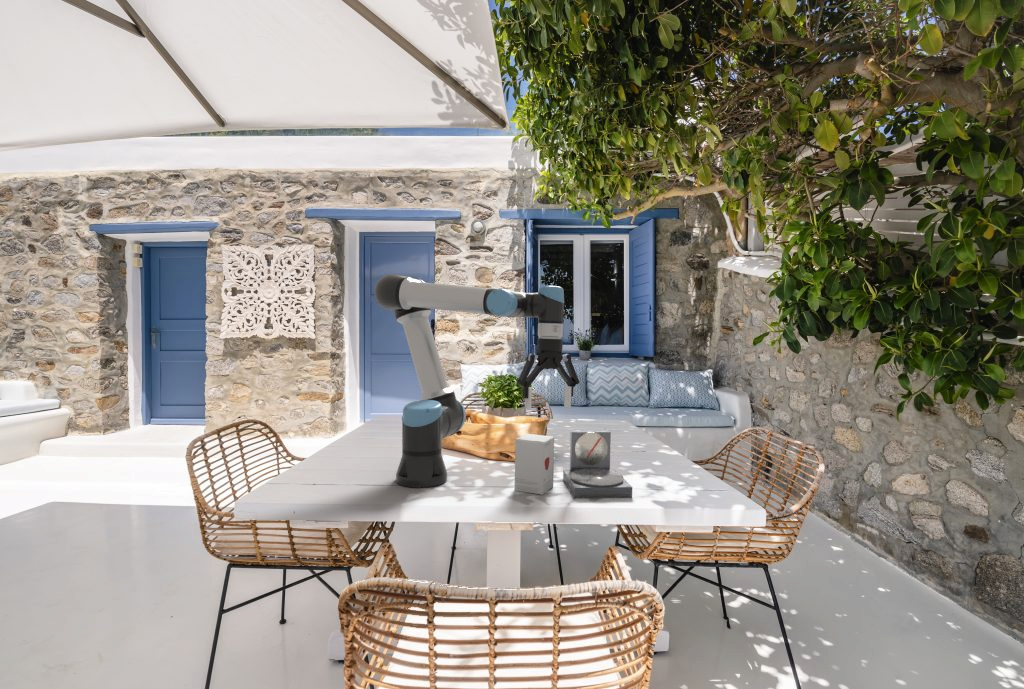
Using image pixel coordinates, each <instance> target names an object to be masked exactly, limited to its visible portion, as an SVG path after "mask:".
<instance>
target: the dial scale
mask: <svg viewBox="0 0 1024 689" xmlns="http://www.w3.org/2000/svg"><path fill="white" fill-rule="evenodd" d="M611 434H612V433H611V431H610V430H570V437H569V438H570V440H569V441H570V442H569V443H570V444H569V445H570V446H569V469H563V471H562V474H563V475H562V476H563V477H562V479H563V480H562V481H563V482H564V483H565V485H566V487H567V489H568V490H569V492H570V493H571V495H572V496H573V498H574V499H579V500H580V499H632V498H633V486H632V485H631V484H630V483H629V482H628V481H627V480H626V479H625V477H624V475H622V474H621V473H619V472H618V471H617V470H616V469H611Z"/></svg>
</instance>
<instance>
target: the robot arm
mask: <svg viewBox="0 0 1024 689" xmlns="http://www.w3.org/2000/svg"><path fill="white" fill-rule="evenodd" d="M374 297H375V301H376V302H377V303H378V305H379V306H380V307H381V308H383V309H384V310H387V311H390V312H393V313H394V316H395V319H396V323H400V324H401V326H402V327H403V331H404V335H405V337H406V341H407V344H408V349H409V352H410V355H411V360H412V362H413V366H414V369H415V373H416V377H417V380H418V384H419V388H420V391H421V397H420V400H418V401H411V402H409V403H407V404H405V405H404V406H403V408H402V416H401V421H402V425H401V426H402V429H401V432H402V433H401V434H402V439H401V440H402V441H401V442H402V444H401V445H402V446H401V447H402V452H401V453H402V454H401V458H400V461H399V465H398V467H397V470H396V474H395V482H396V484H398V485H400V486H402V487H407V488H418V489H419V488H431V487H436V486H439V485H442V484H445V483H446V482H448V470H447V468H446V465H445V462H444V459H443V455H442V454H443V453H442V444H443V442H442V440H443V439H446V438H447V437H451V436H453V435H455V434H456V433H457V432H459V431H461V429H462V428H463V426H464V425H465V423H466V419H467V417H466V416H467V412H466V408H465V406H464V405H463V403H462V402H461V401H459V400H458V399H457V397H456V393H455V391H454V390H453V389H451V388H449V386H448V382H447V380H446V376H445V372H444V369H443V365H442V361H441V358H440V355H439V351H438V348H437V344H436V341H435V338H434V333H433V329H432V326H431V322H430V320H429V317H430V316H431V314H432V310H438V311H439V310H441V311H449V312H461V313H469V314H479V315H489V316H496V317H500V318H501V317H502V318H503V317H504V318H505V317H506V318H537V323H538V324H537V336H538V337H539V338H537V346H536V347H537V348H536V350H537V354H534V353H528V354H527V356H526V362H525V364H524V367H523V369H522V370H521V373H520V375H519V377H518V379H517V381H516V384H517V386H520V387H522V399H524V410H526V411H531V410H532V394H533V393H532V391H533V388H532V387H531V385H532V384H533V382H534V381H535V380H536V379H537V377H538V376H539V375H540V374H541V372H543V370H556V371H557V372H558V374H559V376H561V378H562V379H563V381H564V382H565V383H566V385H564V393H563V394H564V396H563V398H564V399H563V400H564V401H563V404H564V405H563V407H564V408H566V409H571V408H572V397H573V396H574V387H576V385H579V384H580V380H579V377H578V375H577V372H576V369H575V367H574V364H573V361H572V355H571V354H569V353H564V354H563V353H562V352H563V344H564V343H563V342H564V341H563V339H562V338H563V336H564V335H563V334H564V312H565V293H564V288H563V287H561V286H557V285H541V286H539V288H538V291H537V292H519V291H515V290H509V289H508V288H489V287H479V286H470V285H469V286H466V285H455V284H444V283H435V282H433V283H432V282H426V281H424V280H422V279H420V278H418V277H416V276H407V275H401V274H396V273H390V274H389V273H388V274H386V275H384V276H382V277H381V278H380V279H378V281H376V284H375V287H374ZM536 361H537V363H536V364H535V365H534V363H535V362H536ZM562 361H563V362H564V365H565V368H566V369H565V368H564V366H563V364H562V363H561V362H562ZM533 366H534V368H533ZM532 368H533V369H532ZM531 370H532V371H531Z"/></svg>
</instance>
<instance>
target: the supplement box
mask: <svg viewBox="0 0 1024 689" xmlns="http://www.w3.org/2000/svg"><path fill="white" fill-rule="evenodd" d="M514 447H515V450H514V451H515V452H514V453H515V454H514V456H515V458H514V491H517V492H523V493H528V494H529V493H530V494H536V495H541V496H543V495H545V493H547V492H548V491H551V489H552V488H553V487H554V476H555V474H554V473H555V472H554V470H555V468H554V467H555V465H554V464H555V436H552V435H543V434H533V433H526V434H524V435H521V436H520V437H517V438H516V439H515V446H514Z"/></svg>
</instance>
